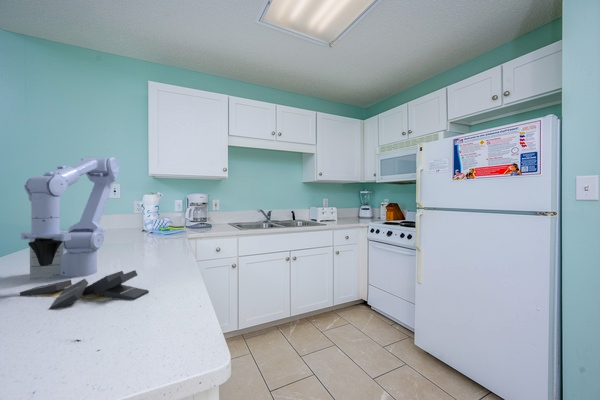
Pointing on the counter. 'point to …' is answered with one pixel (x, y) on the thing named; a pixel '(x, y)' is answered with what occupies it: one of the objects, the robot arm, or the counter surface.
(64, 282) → the domino
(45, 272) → the supplement box
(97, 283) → the domino
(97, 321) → the counter surface
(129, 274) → the domino
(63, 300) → the domino
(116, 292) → the domino
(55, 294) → the board
